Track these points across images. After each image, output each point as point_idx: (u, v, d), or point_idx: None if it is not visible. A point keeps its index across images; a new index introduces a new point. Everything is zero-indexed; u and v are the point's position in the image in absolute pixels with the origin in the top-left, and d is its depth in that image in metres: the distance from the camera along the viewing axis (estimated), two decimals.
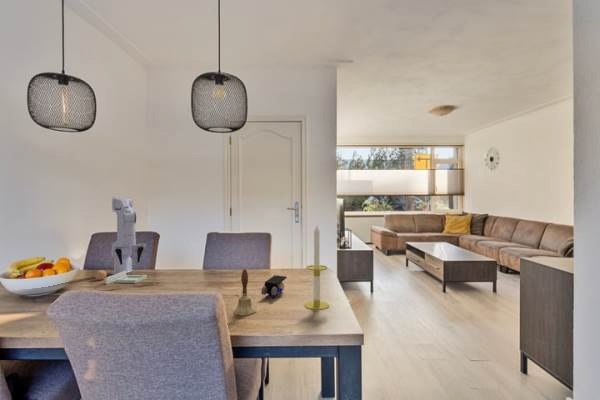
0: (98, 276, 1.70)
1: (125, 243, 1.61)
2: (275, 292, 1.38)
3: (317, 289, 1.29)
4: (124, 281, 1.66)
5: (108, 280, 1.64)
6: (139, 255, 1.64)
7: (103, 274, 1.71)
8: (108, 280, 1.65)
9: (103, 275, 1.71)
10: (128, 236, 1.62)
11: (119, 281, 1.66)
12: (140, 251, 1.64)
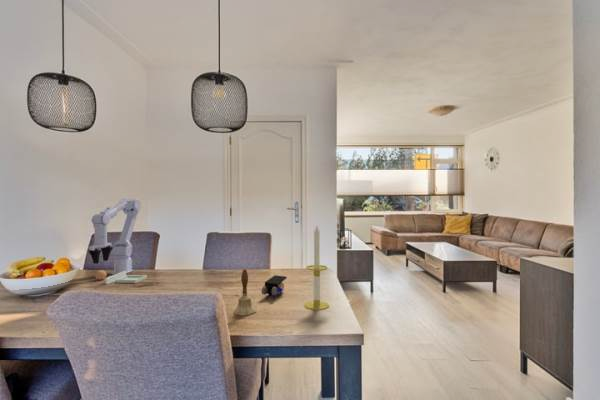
0: (98, 276, 1.70)
1: None
2: (275, 292, 1.38)
3: (317, 289, 1.29)
4: (124, 281, 1.66)
5: (108, 280, 1.64)
6: None
7: (103, 274, 1.71)
8: (108, 280, 1.65)
9: (103, 275, 1.71)
10: None
11: (119, 281, 1.66)
12: None
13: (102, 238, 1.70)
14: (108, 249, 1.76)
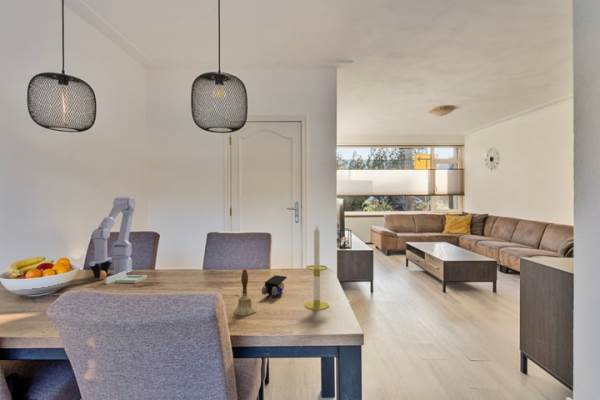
0: None
1: None
2: (275, 292, 1.38)
3: (317, 289, 1.29)
4: (124, 281, 1.66)
5: (108, 280, 1.64)
6: None
7: (103, 274, 1.71)
8: (108, 280, 1.65)
9: (103, 275, 1.71)
10: None
11: (119, 281, 1.66)
12: None
13: (102, 253, 1.70)
14: (107, 264, 1.75)
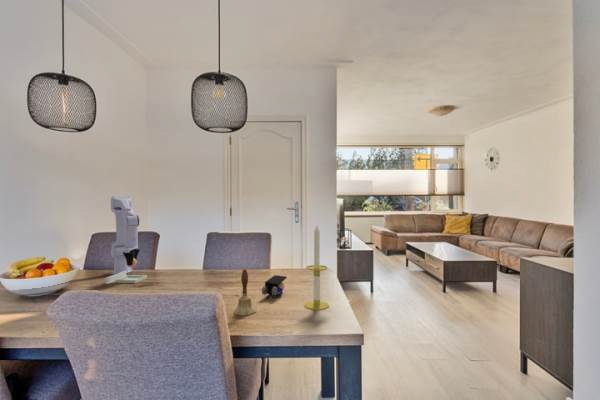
0: None
1: None
2: (275, 292, 1.38)
3: (317, 289, 1.29)
4: (124, 281, 1.66)
5: (108, 280, 1.64)
6: None
7: (135, 261, 1.70)
8: (108, 280, 1.65)
9: (135, 262, 1.70)
10: None
11: (119, 281, 1.66)
12: None
13: (134, 240, 1.69)
14: (136, 252, 1.74)
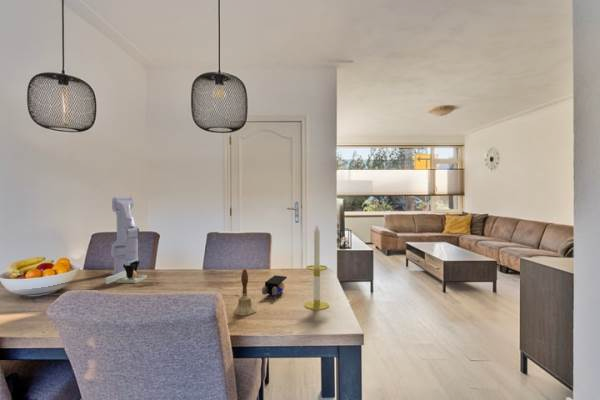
0: None
1: None
2: (276, 292, 1.38)
3: (317, 289, 1.29)
4: (124, 281, 1.66)
5: (108, 280, 1.64)
6: None
7: (135, 273, 1.70)
8: (108, 280, 1.65)
9: (135, 274, 1.70)
10: None
11: (119, 281, 1.66)
12: None
13: (135, 252, 1.69)
14: (136, 264, 1.74)
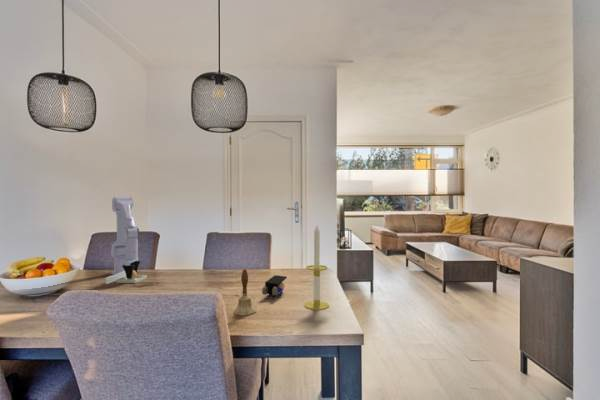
0: None
1: None
2: (276, 292, 1.38)
3: (317, 289, 1.29)
4: (124, 281, 1.66)
5: (108, 280, 1.64)
6: None
7: (135, 273, 1.70)
8: (108, 280, 1.65)
9: (135, 274, 1.70)
10: None
11: (119, 281, 1.66)
12: None
13: (135, 252, 1.69)
14: (137, 263, 1.75)
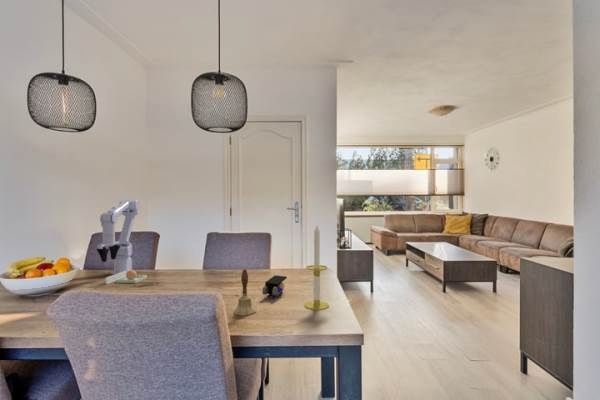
0: (130, 275, 1.69)
1: None
2: (276, 292, 1.38)
3: (317, 289, 1.29)
4: (124, 281, 1.66)
5: (108, 280, 1.64)
6: None
7: (134, 272, 1.70)
8: (108, 280, 1.65)
9: (135, 274, 1.70)
10: None
11: (119, 281, 1.66)
12: None
13: (110, 237, 1.72)
14: (116, 248, 1.77)
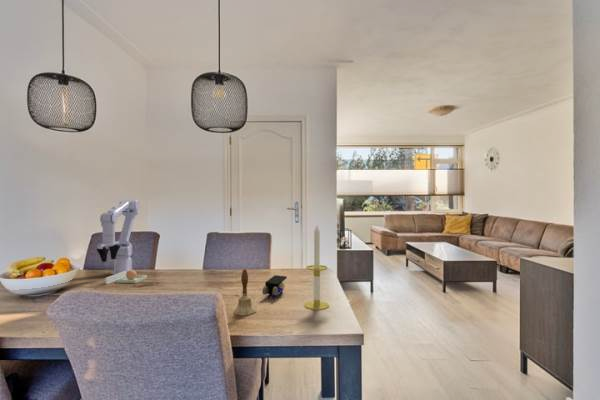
0: (130, 274, 1.69)
1: None
2: (276, 292, 1.38)
3: (317, 289, 1.29)
4: (124, 281, 1.66)
5: (108, 280, 1.64)
6: None
7: (134, 272, 1.71)
8: (108, 280, 1.65)
9: (134, 273, 1.71)
10: None
11: (119, 281, 1.66)
12: None
13: (110, 237, 1.72)
14: (116, 248, 1.77)
